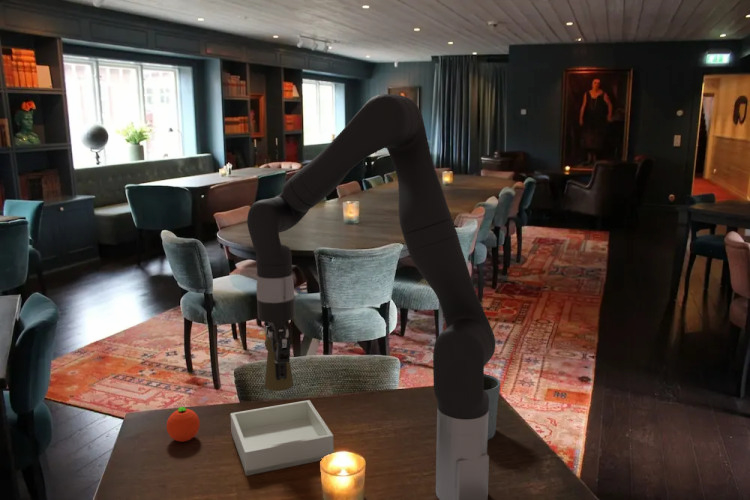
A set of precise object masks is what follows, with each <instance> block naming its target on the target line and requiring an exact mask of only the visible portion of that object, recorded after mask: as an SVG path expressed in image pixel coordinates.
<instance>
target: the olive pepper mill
mask: <svg viewBox="0 0 750 500" xmlns="http://www.w3.org/2000/svg"><path fill="white" fill-rule="evenodd" d="M264 347H265V350H267V354H266V355H267V356H266V365H265V367H266V368H265V377H264V378H265V379H264V385H263V386H264V388H265V389H266V390H269V391H272V392H274V391H275V392H280V391H285V390H289V389H291V388H292V387H293V386H294V380H293V379H294V378H293V374H292V373H293V372H292V367H291V361H290V360H289V362H286V370H287V378H286V379H283V378H281V379H280V380H277V379H276V372H275V362H274V352H272V351H271V341H270V338H269V336H267V338H266V337H265V340H264ZM274 347H275V348H277V344H275V343H274ZM283 356H284V355H283V354H282V355H280V357H283Z"/></svg>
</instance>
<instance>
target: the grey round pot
mask: <svg viewBox="0 0 750 500" xmlns="http://www.w3.org/2000/svg"><path fill="white" fill-rule="evenodd" d="M500 389H501V381H500V380H499V379H498V378H497V377H495V376H494V375H490V374H486V373H484V391H485V392H486V393H487V394H488V397H489V413H488V438H487V441H488V440H490V439H493V437H494V436H495V435H496V429H497V413H498V405H499V403H498V402H499V397H500Z"/></svg>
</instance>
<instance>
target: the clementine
mask: <svg viewBox="0 0 750 500" xmlns="http://www.w3.org/2000/svg"><path fill="white" fill-rule="evenodd" d="M200 423H201V422H200V418H199V416H198V415H197V413H196V412H195V411H194V410H192V409H189V408H186V407H185V406H181V407H180V406H179V407H178V409H177V410H175V411H174V412H172V413H171V415H170V416H169V417H168V419H167V421H166V431H167V434H168V435H169V437H170V438H171V439H172V440H175V441H176V442H188V441H190V440H192V439H193V438H194V437H196V435H197V434H198V432H199V429H200V425H201V424H200Z"/></svg>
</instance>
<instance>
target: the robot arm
mask: <svg viewBox="0 0 750 500" xmlns="http://www.w3.org/2000/svg"><path fill="white" fill-rule="evenodd" d="M383 149H387V151H388V154H389V155H390V156H389V157H390V159H391V161H392V164H393V167H394V170H395V173H396V177H397V184H398V218H399V225H400V230H401V233H402V237H403V239H404V242H405V245H406V248H407V251H408V253H409V257H410V258H411V261H412V263H413V264H414V266H415V268H416V269H417V271H418V273H420V274H421V276H422V278H423V279H424V280H425V281H426V283H427V284H428V285H429V286H430V288H431V289H432V290H433V292H434V293H435V295H436V298H437V299H438V303H439V305H440V309H441V312H442V314H443V318H444V321H445V322H444V323H445V327H446V329H444V330H443V331H442V332H441V333H440V334H439V335H438V336H437V338H436V339H435V342H434V346H433V354H432V367H433V368H432V369H433V370H432V372H433V375H432V376H433V392H434V395H435V398H436V401H437V402H436V403H437V404H436V405H437V407H436V409H437V410H436V411H437V412H436V414H437V415H436V451H435V453H436V455H435V458H436V459H435V466H436V467H435V494H436V497H437V498H438V500H488V495H489V473H490V472H489V468H490V466H489V465H490V456H489V454H488V440H487V438H488V413H489V397H488V394H487V393H486V392H485V391H484V374H485V366H486V365H487V364H488V363H489V361H490V360H491V359H492V358H493V356H494V354H495V350H496V337H495V334H494V331H493V329H492V326H491V324H490V320H489V319H488V316H487V315H486V313H485V311H484V308H483V307H482V304H481V301H480V300H479V297H478V295H477V292H476V289H475V287H474V284H473V281H472V278H471V274H470V271H469V267H468V264H467V262H466V258H465V255H464V252H463V249H462V246H461V242H460V238H459V236H458V232H457V229H456V226H455V222H454V220H453V217H452V214H451V211H450V209H449V206H448V204H447V200H446V197H445V194H444V191H443V188H442V185H441V182H440V179H439V177H438V174H437V171H436V169H435V165H434V162H433V158H432V154H431V149H430V146H429V141H428V137H427V131H426V127H425V123H424V118H423V115H422V112H421V110H420V108H419V106H418V105H417V103H416V102H415V101H413V100H412V99H411V98H410V97H408V96H405V95H398V94H392V93H381V94H378V95H377V94H376V95H375V96H372V97H371V98H369V99H368V100H367V102H365V103H364V105H362V107H361V108H360V109H359V110H358V111H357V113H356V114H355V115H354V116H353V117H352V118H351V120H349V122H348V123H347V125H346V126H345V127H344V128H343V129H342V130H341V131H340V132H339V134H338V135H337V136H336V137H335V138H334V139H333V140H332V141H331V142H330V143H329V144H328V145H327V146H326V147H325V148H323V150H322V151H321V152H320V153H318V155H316V156H315V157H314V158H313V159H311V161H309V162H307V164H305V165H304V166H303V167H302V168H301V169H299V170H298V171H297V172H296V173H294V174H293V175H292V176H291V177H290V178H289V179H287V181H286V182H284V185H283V187H282V192H281V193H280V194H278V195H276V196H275V197H271V198H267V199H260V200H258V201H255V202H253V204H251V206H250V208H249V210H248V213H247V219H246V224H247V229H248V233H249V237H250V240H251V243H252V246H253V249H254V252H255V257H256V276H257V277H256V305H257V307H256V308H257V319H258V321H261V322H263V325H264V331H265V339H266V338H267V336H269V338H270V341H271V351H272V352H274V362H275V372H276V379H277V380H280V379H281V378H283V379H286V378H287V370H286V362H289V361H290V360H291V359H290V357H291V342H292V339H291V337H290V336H289V334H290V333H289V327H286V323H287V322H289V321H291V320H293V319H294V318H295V316H296V314H295V313H296V311H295V309H296V308H295V286H294V285H295V284H294V283H295V282H294V279H293V278H294V277H293V262H292V261H293V260H292V259H293V258H292V256H293V255H292V250H291V248H290V247H289V246H287V245H285V244H283V243H281V240H280V233H282V232H286V231H288V230H290V229H292V228H293V227H295V226H296V225H297V224H298V223H300V221H301V220H302V219H303V218H304V217H305V215H306V214H307V213H308V212H309V211H310V209H312V208H314V207H315V206H316V205H318V204H319V203H320V202H321V201H323V200H324V199H325V198H326V197H328V196H330V194H332V192H334V191H335V190H336V189H337V187H339V186H340V184H341V183H342V182H343V181H344V179H345V178H346V176H347V175H348V174H349V173H350V171H351V170H353V169H354V167H356V166H357V165H358V164H359V163H361V162H362V161H363V160H365V159H367V158H368V157H370V156H371V155H374V154H376V153H377V152H380V151H382V150H383ZM274 343H275V344H277V348H275V347H274ZM282 354H283V355H284V356H283V357H280V355H282Z"/></svg>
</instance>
